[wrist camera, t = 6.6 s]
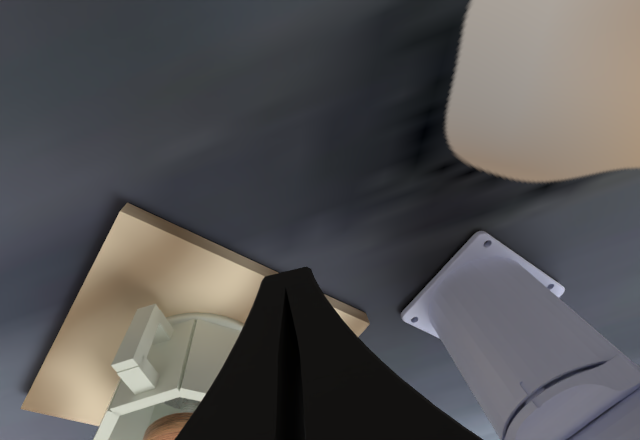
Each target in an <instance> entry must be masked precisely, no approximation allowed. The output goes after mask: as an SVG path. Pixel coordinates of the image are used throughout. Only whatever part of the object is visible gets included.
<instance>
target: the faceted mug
mask: <svg viewBox="0 0 640 440" xmlns="http://www.w3.org/2000/svg"><path fill="white" fill-rule="evenodd" d="M243 326H244V324H243V323H241V322H239V321H237V320H235V319H232V318H229V317H226V316H222V315H218V314H212V313H199V312H196V313H183V314H177V315H173V316H169V317H165V316H164V314H163V313H162V311H161V310H160V309H159V308H158V306H157V305H156V303H155V304H152V305H149V306H146V307H142V308H139V309H137V311H136V313H135V315H134V317H133V320H132V322H131V324H130V326H129V328H128V330H127V332H126V334H125V337H124V339H123V341H122V343H121V345H120V347H119V349H118V351H117V353H116V356H115V358H114V360H113V362H112V364H111V366H112V367H113V368H114V369H115V371H116V372H117V374H118V376H119V377H120V378H119V381H118V383H117V385H116V388H115V390H114V392H113V395H112V397H111V399H110V402H109V404H108V406H107V409H106V411H105V413H104V416H103V418H102V420H101V423H100V425H99V427H98V430H97V432H96V434H95V437H94V439H93V440H143V437H144V434H145V431H146V429H147V428H148V427H149V426H150V425H151V424H152V423H153V422H154V421H156V420H158V419H160V418H162V417H164V416H167V415H171V414H175V413H181V409H177V408H173V407H171V406H168V405H166V404H164V403H162V402H165V401H168V400H171V399H175V398H178V397H182V398H187V399H192V400H197V401H202V399H203V398H204V396H205V394H206V393H207V391H208V390H209V388H210V387H211V385H212V383H213V382H214V380H215V379H216V377H217V375H218V373H219V372H220V370H221V368H222V367H223V365H224V363H225V361H226V359H227V357H228V355H229V354H230V352H231V350H232V348H233V346H234V344H235V342H236V340H237V338H238V336H239V334H240V332H241V330H242V328H243Z"/></svg>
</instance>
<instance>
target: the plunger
mask: <svg viewBox="0 0 640 440" xmlns="http://www.w3.org/2000/svg"><path fill="white" fill-rule="evenodd" d="M200 402H201V401H197V400H192V399H187V398H182V397H178V398H175V399H171V400H168V401H165V402H162V403H164V404H166V405H168V406H171V407H173V408H177V409H181V413H175V414H171V415H167V416H164V417H162V418H160V419H158V420H156V421H154V422H153V423H152V424H151V425H150V426H149V427H148V428H147V429H146V431H145V434H144V437H143V440H174V439H175V438H176V437H177V435H178V434H179V432H180V431H181V430H182V428H183V427H184V425H185V424H186V422H187V421H188V420H189V418H190V417H191V415H192V414H193V412H194V411H195V410H196V408H197V407H198V405H199V404H200Z"/></svg>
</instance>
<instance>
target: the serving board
mask: <svg viewBox="0 0 640 440" xmlns="http://www.w3.org/2000/svg"><path fill="white" fill-rule="evenodd" d="M273 274H278V272H276V271H274V270H272V269H269V268H267V267H265V266H263V265H261V264H259V263H256V262H254V261H252V260H250V259H248V258H246V257H244V256H241V255H239V254H237V253H235V252H233V251H231V250H228V249H226V248H224V247H222V246H220V245H218V244H216V243H213V242H211V241H209V240H207V239H205V238H203V237H200V236H198V235H196V234H194V233H192V232H190V231H188V230H185V229H183V228H181V227H179V226H177V225H175V224H172V223H170V222H168V221H166V220H164V219H162V218H160V217H157V216H155V215H153V214H151V213H149V212H147V211H144V210H142V209H140V208H138V207H136V206H134V205H132V204H129V203H126V205H125V206H124V207H123V208H122V209H121V210H120V212H119V214H118V216H117V218H116V220H115V222H114V224H113V226H112V228H111V230H110V232H109V234H108V236H107V238H106V240H105V242H104V244H103V246H102V248H101V250H100V252H99V254H98V256H97V258H96V260H95V262H94V264H93V266H92V268H91V270H90V272H89V274H88V276H87V278H86V280H85V282H84V284H83V286H82V287H81V289H80V291H79V293H78V295H77V297H76V299H75V301H74V303H73V305H72V307H71V309H70V311H69V313H68V315H67V317H66V319H65V321H64V323H63V325H62V327H61V329H60V331H59V333H58V335H57V337H56V339H55V341H54V343H53V345H52V347H51V349H50V351H49V353H48V355H47V357H46V359H45V361H44V363H43V365H42V367H41V369H40V371H39V373H38V375H37V377H36V379H35V381H34V383H33V385H32V387H31V389H30V391H29V393H28V395H27V397H26V399H25V401H24V403H23V405H22V407H21V409H23V410H28V411H32V412H37V413H42V414H46V415H51V416H55V417H60V418H64V419H69V420H73V421H78V422H82V423H87V424H91V425H96V426H99V425H100V423H101V420H102V418H103V416H104V413H105V411H106V409H107V406H108V404H109V402H110V399H111V397H112V395H113V392H114V390H115V388H116V385H117V383H118V381H119V378H120V377H119V376H118V374H117V372H116V371H115V369H114V368H113V367H112V366H111V364H112V362H113V360H114V358H115V356H116V353H117V351H118V349H119V347H120V345H121V343H122V341H123V339H124V337H125V334H126V332H127V330H128V328H129V326H130V324H131V322H132V320H133V317H134V315H135V313H136V311H137V309H139V308H142V307H146V306H149V305H152V304H155V303H156V305H157V306H158V308H159V309H160V310H161V311H162V313H163V314H164V316H165V317H169V316H173V315H177V314H183V313H196V312H199V313H212V314H218V315H222V316H226V317H229V318H232V319H235V320H237V321H239V322H241V323H243V324H245V321H246V319H247V317H248V315H249V313H250V310H251V308H252V306H253V303H254V301H255V298H256V296H257V293H258V290H259V287H260V285H261V282H262V280H263V278H264V277H265V276H269V275H273ZM324 295H325V294H324ZM325 297H326V298H327V300H328V301H329V302H330V304H331V305H332V306H333V308H334V309H335V310H336V312H337V313H338V314H339V316H340V317H341V318H342V319H343V321H344V322H345V323H346V324H347V325H348V326H349V328H350V329H351V330H352V331H353V332H354V333H355V334H356V336H357V337H358V336H359V335H360V334H361V333H362V332H363V331H364V330H365V329H366V328H367V327H368V325H369V324H370V323H369V320H368V318H367V315H366V313H364V312H362V311H360V310H358V309H356V308H353V307H351V306H349V305H347V304H345V303H343V302H340V301H338V300H336V299H334V298H332V297H330V296H328V295H325Z"/></svg>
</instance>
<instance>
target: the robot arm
mask: <svg viewBox="0 0 640 440" xmlns="http://www.w3.org/2000/svg"><path fill="white" fill-rule="evenodd" d="M487 240H488V241H487ZM486 241H487V243H485V242H486ZM484 243H485V244H484ZM564 290H565V288H564V287H563V286H562V285H561V284H559V283H558V282H557V281H555V280H554V279H552V278H551V277H549V276H548V275H547V274H545V273H544V272H542V271H541V270H539V269H538V268H537V267H535V266H534V265H532V264H531V263H529V262H528V261H526V260H525V259H524V258H522V257H521V256H519V255H518V254H516V253H515V252H514V251H512V250H511V249H509V248H508V247H506V246H505V245H504V244H502V243H501V242H499V241H498V240H496V239H495V238H494V237H492V236H491V235H489V234H488V233H486V232H485V231H478V232H476V233H475V234H474V235H473V236H472V237H471V238H470V239H469V240H468V241H467V242H466V244H465V245H464V246H463V247H462V248H461V249H460V250H459V251H458V252H457V253H456V254H455V255H454V256H453V257H452V259H451V260H450V261H449V262H448V263H447V264H446V265H445V266H444V267H443V268H442V269H441V270H440V271H439V272H438V274H437V275H436V276H435V277H434V278H433V279H432V280H431V281H430V282H429V283H428V284H427V285H426V286H425V287H424V289H423V290H422V291H421V292H420V293H419V294H418V295H417V296H416V297H415V298H414V299H413V300H412V301H411V302H410V304H409V305H408V306H407V307H406V308H405V309H404V310H403V311H402V313H401V318H402V320H403V321H404V322H406V323H408V324H410V325H412V326H414V327H417V328H419V329H421V330H423V331H425V332H427V333H429V334H431V335H433V336H435V337H437V338H440V339H441V341H442V343H443V344H444V346H445V348H446V349H447V351H448V353H449V354H450V356H451V358H452V359H453V361H454V363H455V364H456V366H457V368H458V369H459V371H460V373H461V374H462V376H463V378H464V379H465V381H466V383H467V384H468V386H469V388H470V389H471V391H472V393H473V394H474V396H475V398H476V399H477V401H478V403H479V404H480V406H481V408H482V410H483V411H484V413H485V415H486V416H487V418H488V420H489V421H490V423H491V425H492V426H493V428H494V430H495V431H496V433H497V435H498V436H499V438H500V440H640V366H638V365H637V364H635V363H634V362H632V361H631V360H630V359H629V358H628V357H626V356H625V355H624V354H623V353H622V352H621V351H619V350H618V349H617V348H616V347H615V346H614V345H613V344H611V343H610V342H609V341H608V340H607V339H606V338H604V337H603V336H602V335H601V334H600V333H599V332H597V331H596V330H595V329H594V328H593V327H592V326H591V325H589V324H588V323H587V322H586V321H585V320H584V319H582V318H581V317H580V316H579V315H578V314H577V313H575V312H574V311H573V310H572V309H571V308H570V307H569V306H567V305H566V304H565V303H564V302H563V301H562V300H560V299H559V297H560V296H561V295H562V294H563V293H564ZM413 317H415V318H413ZM412 318H413V319H412ZM174 440H483V439H481V438H480V437H479V436H477V435H476V434H474V433H473V432H471V431H470V430H468V429H467V428H465V427H464V426H462V425H461V424H460V423H458V422H457V421H456V420H454V419H453V418H451V417H450V416H449V415H447V414H446V413H445V412H443V411H442V410H440V409H439V408H438V407H436V406H435V405H434V404H432V403H431V402H430V401H429V400H427V399H426V398H425V397H424V396H422V395H421V394H420V393H419V392H417V391H416V390H415V389H414V388H413V387H411V386H410V385H409V384H408V383H406V382H405V381H404V380H403V379H401V378H400V377H399V376H398V375H397V374H396V373H394V372H393V371H392V370H391V369H390V368H389V367H388V366H387V365H386V364H384V363H383V362H382V361H381V360H380V359H379V358H378V357H377V356H376V355H375V354H374V353H373V352H372V351H371V350H370V349H369V348H368V347H367V346H366V345H365V344H364V343H363V342H362V341H361V340H360V339H359V338H358V337H357V336H356V334H355V333H354V332H353V331H352V330H351V329H350V328H349V326H348V325H347V324H346V323H345V322H344V321H343V319H342V318H341V317H340V316H339V314H338V313H337V312H336V310H335V309H334V308H333V306H332V305H331V304H330V302H329V301H328V300H327V298H326V297H325V295H324V294H323V292H322V291H321V289H320V287H319V286H318V284H317V282H316V280H315V278H314V276H313V273H312V270H311V269H310V268H308V267H303V268H299V269H295V270H291V271H286V272H282V273H278V274H273V275H269V276H265V277H264V278H263V280H262V282H261V285H260V287H259V290H258V293H257V296H256V298H255V301H254V303H253V306H252V308H251V310H250V313H249V315H248V317H247V319H246V321H245V324H244V326H243V328H242V330H241V332H240V334H239V336H238V338H237V340H236V342H235V344H234V346H233V348H232V350H231V352H230V354H229V355H228V357H227V359H226V361H225V363H224V365H223V367H222V368H221V370H220V372H219V373H218V375H217V377H216V379H215V380H214V382H213V383H212V385H211V387H210V388H209V390H208V391H207V393H206V394H205V396H204V398H203V399H202V401H201V402H200V404H199V405H198V407H197V408H196V410H195V411H194V412H193V414H192V415H191V417H190V418H189V420H188V421H187V422H186V424H185V425H184V427H183V428H182V430H181V431H180V432H179V434H178V435H177V437H176V438H175V439H174Z"/></svg>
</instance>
